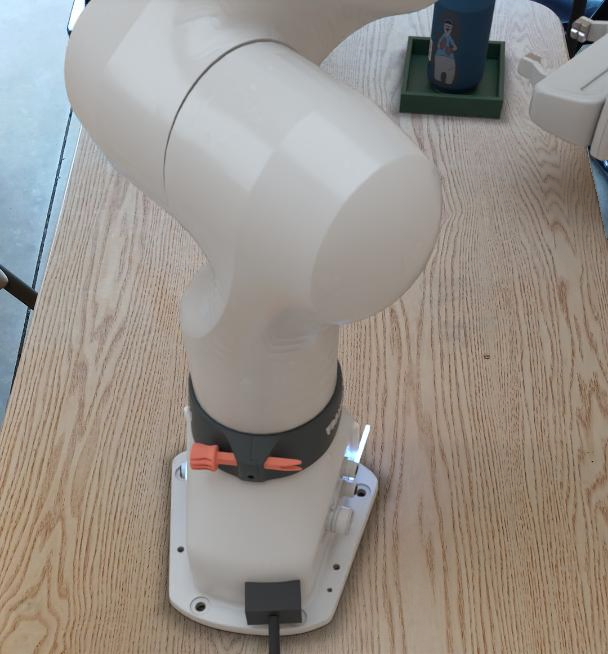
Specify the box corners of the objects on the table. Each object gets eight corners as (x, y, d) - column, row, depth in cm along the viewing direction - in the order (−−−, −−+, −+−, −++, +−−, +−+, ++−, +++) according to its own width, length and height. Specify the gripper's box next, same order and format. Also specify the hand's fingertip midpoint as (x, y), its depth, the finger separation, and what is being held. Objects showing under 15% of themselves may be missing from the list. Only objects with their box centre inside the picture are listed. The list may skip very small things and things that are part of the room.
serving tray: (499, 119, 101) (503, 100, 98) (399, 112, 102) (400, 93, 99) (502, 60, 106) (505, 41, 104) (406, 54, 107) (408, 35, 105)
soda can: (479, 65, 105) (496, -38, 95) (483, 99, 102) (501, -5, 91) (424, 66, 105) (435, -38, 95) (426, 99, 102) (438, -4, 92)
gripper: (725, 23, 86) (613, -26, 91) (610, 111, 79) (496, 53, 84) (701, 82, 92) (596, 33, 97) (591, 169, 85) (485, 112, 90)
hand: (549, 43), depth 90 cm, fingers open, 8 cm apart
